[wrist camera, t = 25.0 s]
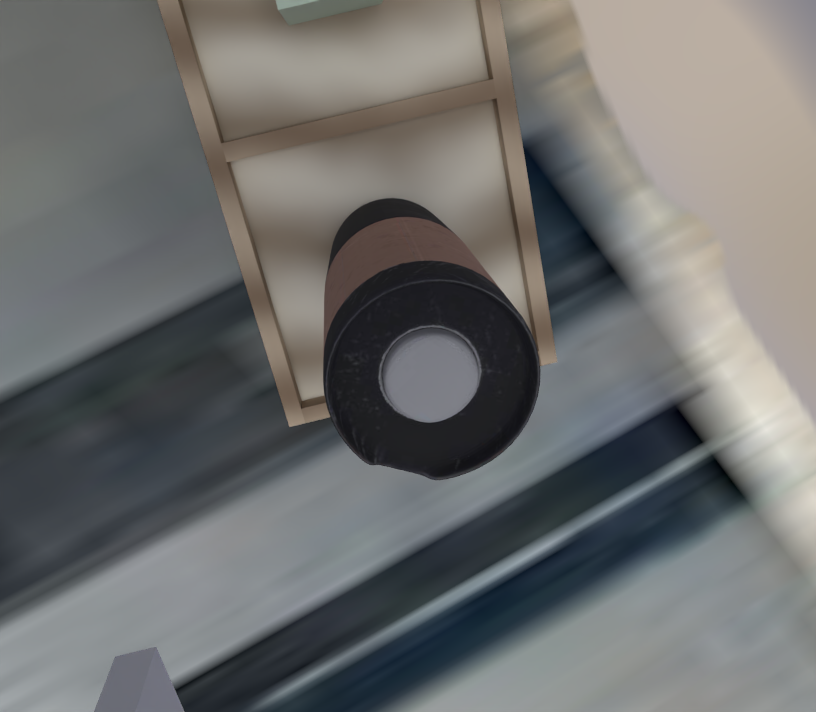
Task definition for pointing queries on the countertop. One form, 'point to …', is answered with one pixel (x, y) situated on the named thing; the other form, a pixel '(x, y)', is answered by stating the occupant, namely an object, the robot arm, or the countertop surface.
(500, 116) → the two-bay tray
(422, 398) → the travel mug
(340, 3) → the green block
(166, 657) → the countertop surface
